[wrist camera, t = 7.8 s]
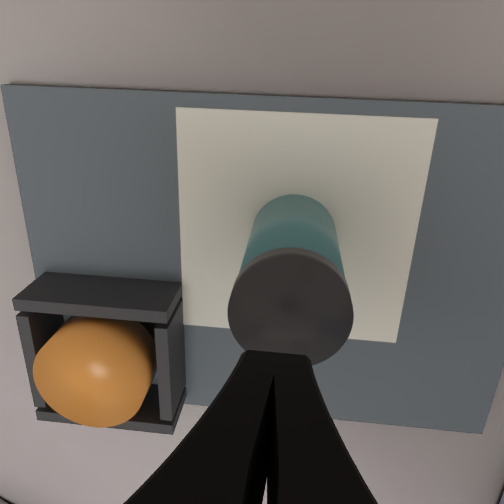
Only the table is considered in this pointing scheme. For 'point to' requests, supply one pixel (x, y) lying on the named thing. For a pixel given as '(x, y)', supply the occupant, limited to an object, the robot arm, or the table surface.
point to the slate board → (240, 225)
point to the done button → (96, 370)
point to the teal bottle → (292, 283)
